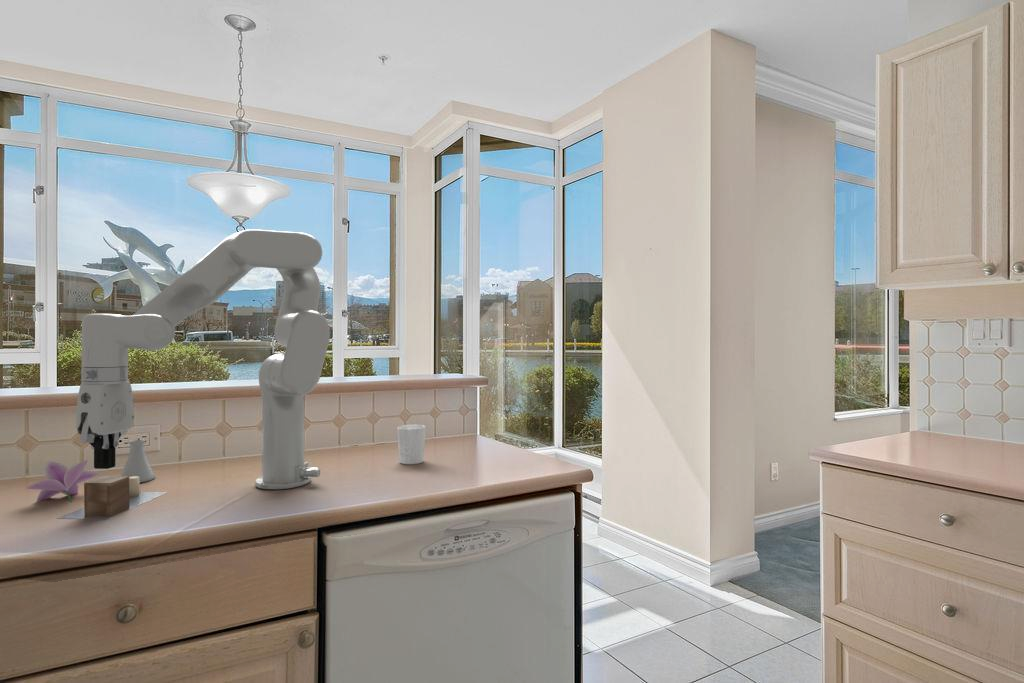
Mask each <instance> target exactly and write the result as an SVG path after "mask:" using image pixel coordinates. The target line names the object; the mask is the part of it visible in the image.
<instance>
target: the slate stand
mask: <svg viewBox="0 0 1024 683" xmlns="http://www.w3.org/2000/svg"><path fill="white" fill-rule="evenodd" d="M140 490H141V489H140V483H139V476H132V477H129V509H127V510H125V511H122V512H120V513H118V514H116V515H113V516H111V517H92V516H84V507H82V508H79V509H77V510H74V511H72V512H69V513H67V514H64V515H62V516H59V517H56V519H57V520H58V519H60V520H64V519H65V520H100V521H101V520H103V521H104V520H105V521H106V520H109V519H111V518H113V517H115V516H118V515H120V514H123V513H124V512H128V511H129V510H131V509H134V508H136V507H138V506H140V505H143V504H146V503H148V502H150V501H152V500H154V499H157V498H158V497H161V496H164V495H166V494H168V493H169V492H167V491H164V492H163V491H162V492H161V491H140Z"/></svg>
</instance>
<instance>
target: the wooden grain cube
mask: <svg viewBox="0 0 1024 683" xmlns="http://www.w3.org/2000/svg"><path fill="white" fill-rule="evenodd" d="M83 493H84V496H83V500H84V502H83V503H84V504H83V508H84V516H92V517H111V516H113V515H116V514H118V513H120V512H122V511H125V510H127V509H129V476H121V475H104V476H101V477H97V478H93V479H90V480H87V481H84V483H83ZM127 511H128V510H127ZM125 512H126V511H125ZM120 514H121V513H120ZM118 515H119V514H118ZM116 516H117V515H116ZM111 518H112V517H111Z"/></svg>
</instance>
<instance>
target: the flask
mask: <svg viewBox="0 0 1024 683" xmlns="http://www.w3.org/2000/svg"><path fill="white" fill-rule="evenodd" d="M145 442H146V439H141V438H138V439H132V440H129V441H128V444H129V445H130V446H129V453H128V458H127V460H126V462H125V465H124V467H123V470H122V472H121V475H120V476H129V477H132V476H139V484H140V483H145V482H149V481H152V480H154V479H155V478H156V475H155V473H154V471H153V468H152V467H151V465H150V463H149V460H148V458H147V456H146V452H145Z"/></svg>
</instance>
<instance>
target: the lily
mask: <svg viewBox="0 0 1024 683" xmlns="http://www.w3.org/2000/svg"><path fill="white" fill-rule="evenodd" d="M87 463H88V460H87V459H86V460H83V461H81V462H78V463H76V464H74V465H73V466H71V467H67V466H66V465H64V464H63V463H59V462H56V461H47V462H46V464H45V468H44V470H45V472H44V473H45V474H44V475H45V479H43V480H40V481H37V482H34V483H33V484H30V485H29V486H27V487H26V489H28V490H37V491H38V490H39V494H38V496H37V499H36V503H38V502H41V501H44V500H47V499H48V500H49V499H51V498H52V497H55V496H56V495H58V494H59V495H60V494H64V495H66V496H68V497H67V498H68V501H69V503H72V499H71V495H72V496H73V495H77V494H78V493H79V485H80V484H81V483H83V482H84V483H85V482H87V481H90V480H92V479H95V478H96V477H98V476H100V475H102V473H101V472H99V471H96V470H87V469H86V470H85V467H86V466H87Z"/></svg>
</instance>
